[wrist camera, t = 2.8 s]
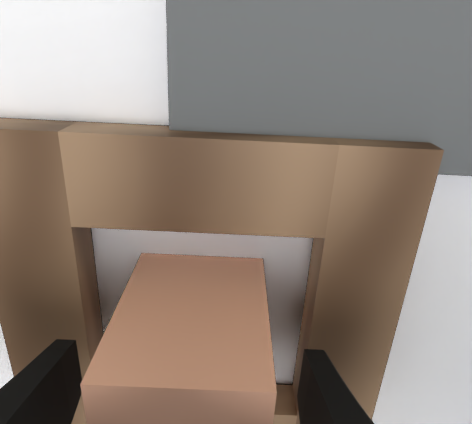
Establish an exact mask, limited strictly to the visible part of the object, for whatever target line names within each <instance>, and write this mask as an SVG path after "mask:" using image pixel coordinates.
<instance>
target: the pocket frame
mask: <svg viewBox="0 0 472 424" xmlns="http://www.w3.org/2000/svg"><path fill="white" fill-rule="evenodd" d="M443 153H444V150H443V149H441V148H439V147H437V146H436V145H434V144H432V143H429V142H408V141H387V140H366V139H346V138H325V137H304V136H283V135H262V134H241V133H220V132H199V131H178V130H169V126H160V125H139V124H118V123H97V122H76V121H55V120H35V119H14V118H0V323H1V327H2V331H3V335H4V339H5V343H6V347H7V351H8V355H9V359H10V363H11V367H12V371H13V375H14V377H15V376H16V375H17V374H18V373H19V372H20V371H21V370H22V369H24V368H25V367H26V366H27V365H28V364H29V363H30V362H31V361H32V360H34V359H35V358H36V357H37V356H38V355H39V354H40V353H41V352H42V351H44V350H45V349H46V348H47V347H48V346H49V345H50V344H51V343H53V342H54V341H55V340H56V339H66V340H76V344H77V350H78V357H79V363H80V370H81V376H82V380H83V377H84V375H85V373H86V371H87V369H88V367H89V365H90V362H91V360H92V358H93V356H94V354H95V352H96V350H97V347H98V345H99V343H100V341H101V339H102V337H103V328H102V319H101V311H100V302H99V294H98V285H97V277H96V269H95V260H94V252H93V243H92V235H91V228H107V229H129V230H151V231H173V232H195V233H217V234H239V235H261V236H283V237H305V238H314V239H313V246H312V252H311V259H310V266H309V273H308V280H307V287H306V294H305V301H304V308H303V315H302V322H301V329H300V336H299V343H298V350H297V357H296V364H295V371H294V378H293V385H277V384H276V390H277V395H276V404H275V412H274V420H273V424H300V420H299V410H298V400H297V393H298V386H299V380H300V373H301V367H302V360H303V353H304V349H318V350H324V351H325V352H326V353H327V355H328V357H329V358H330V360H331V362H332V363H333V365H334V367H335V368H336V370H337V371H338V373H339V374H340V376H341V378H342V379H343V381H344V382H345V384H346V385H347V387H348V388H349V390H350V391H351V393H352V394H353V395H354V397H355V398H356V400H357V401H358V402H359V404H360V405H361V407H362V408H363V409H364V411H365V412H366V414H367V415H368V416H369V418H370V419H371V420H372V416H373V413H374V409H375V405H376V401H377V398H378V394H379V390H380V387H381V383H382V379H383V375H384V372H385V368H386V364H387V361H388V357H389V353H390V349H391V346H392V342H393V338H394V335H395V331H396V327H397V323H398V320H399V316H400V312H401V309H402V305H403V301H404V297H405V294H406V290H407V286H408V283H409V279H410V275H411V271H412V268H413V264H414V260H415V257H416V253H417V249H418V246H419V242H420V238H421V234H422V231H423V227H424V223H425V220H426V216H427V212H428V208H429V205H430V201H431V197H432V194H433V190H434V186H435V182H436V179H437V175H438V171H439V168H440V164H441V160H442V156H443ZM71 424H86V417H85V411H84V405H83V399H82V393H81V397H80V400H79V403H78V406H77V409H76V412H75V415H74V418H73V420H72V423H71Z"/></svg>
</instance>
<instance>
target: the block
mask: <svg viewBox="0 0 472 424" xmlns="http://www.w3.org/2000/svg"><path fill="white" fill-rule="evenodd" d="M80 386H81V392H82V399H83V405H84V411H85V417H86V424H273V420H274V412H275V404H276V395H277V390H276V380H275V370H274V361H273V351H272V341H271V332H270V322H269V312H268V303H267V293H266V283H265V274H264V264H263V259H261V258H239V257H216V256H194V255H172V254H150V253H141V255H140V257H139V259H138V262H137V264H136V266H135V268H134V270H133V272H132V274H131V277H130V279H129V281H128V283H127V285H126V287H125V289H124V292H123V294H122V296H121V298H120V300H119V302H118V304H117V307H116V309H115V311H114V313H113V315H112V317H111V320H110V322H109V324H108V326H107V328H106V330H105V332H104V335H103V337H102V339H101V341H100V343H99V345H98V347H97V350H96V352H95V354H94V356H93V358H92V360H91V362H90V365H89V367H88V369H87V371H86V373H85V375H84V377H83V380H82V382H81V384H80Z"/></svg>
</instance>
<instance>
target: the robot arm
mask: <svg viewBox="0 0 472 424" xmlns="http://www.w3.org/2000/svg"><path fill="white" fill-rule="evenodd" d="M81 382H82V376H81V370H80V363H79V357H78V350H77V344H76V340H66V339H56V340H55V341H54V342H53V343H51V344H50V345H49V346H48V347H47V348H46V349H45V350H44V351H42V352H41V353H40V354H39V355H38V356H37V357H36V358H35V359H34V360H32V361H31V362H30V363H29V364H28V365H27V366H26V367H25V368H24V369H22V370H21V371H20V372H19V373H18V374H17V375H16V376H15V377H13V378H12V379H11V380H10V381H9V382H8V383H7V384H5V385H4V386H3V387H2V388H1V389H0V424H71V423H72V420H73V418H74V415H75V412H76V409H77V406H78V403H79V400H80V397H81V393H82V392H81V386H80V384H81ZM297 400H298V410H299V420H300V424H374V423H373V422H372V420H371V419H370V418H369V416H368V415H367V414H366V412H365V411H364V409H363V408H362V407H361V405H360V404H359V402H358V401H357V400H356V398H355V397H354V395H353V394H352V393H351V391H350V390H349V388H348V387H347V385H346V384H345V382H344V381H343V379H342V378H341V376H340V374H339V373H338V371H337V370H336V368H335V367H334V365H333V363H332V362H331V360H330V358H329V357H328V355H327V353H326V352H325V351H324V350H318V349H304V353H303V360H302V367H301V373H300V380H299V386H298V393H297Z"/></svg>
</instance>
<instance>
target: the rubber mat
mask: <svg viewBox="0 0 472 424" xmlns="http://www.w3.org/2000/svg"><path fill="white" fill-rule="evenodd" d="M166 17H167V59H168V100H169V130H178V131H199V132H220V133H241V134H262V135H283V136H304V137H325V138H346V139H366V140H387V141H408V142H429V143H432V144H434V145H436V146H437V147H439V148H441V149H443V150H444V153H443V156H442V160H441V164H440V168H439V171H438V174H441V175H462V176H472V0H166Z"/></svg>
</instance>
